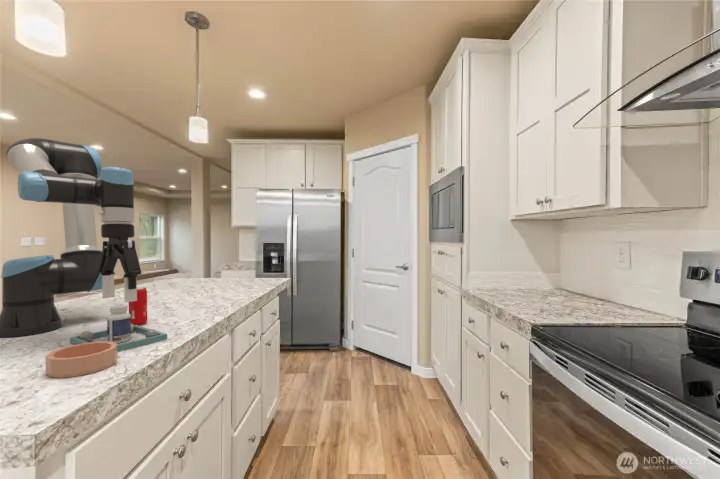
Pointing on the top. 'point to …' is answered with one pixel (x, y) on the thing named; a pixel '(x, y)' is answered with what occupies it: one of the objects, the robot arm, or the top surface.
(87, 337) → the taupe ball
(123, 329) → the pill bottle
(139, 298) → the beverage can
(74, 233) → the robot arm
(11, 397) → the top surface
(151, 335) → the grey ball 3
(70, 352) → the bowl
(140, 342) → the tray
